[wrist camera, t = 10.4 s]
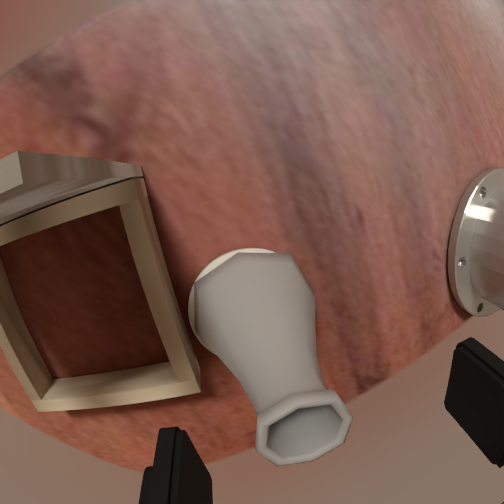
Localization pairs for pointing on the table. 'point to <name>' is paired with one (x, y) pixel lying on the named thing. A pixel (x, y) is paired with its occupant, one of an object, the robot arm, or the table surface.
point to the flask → (272, 353)
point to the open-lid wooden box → (146, 260)
